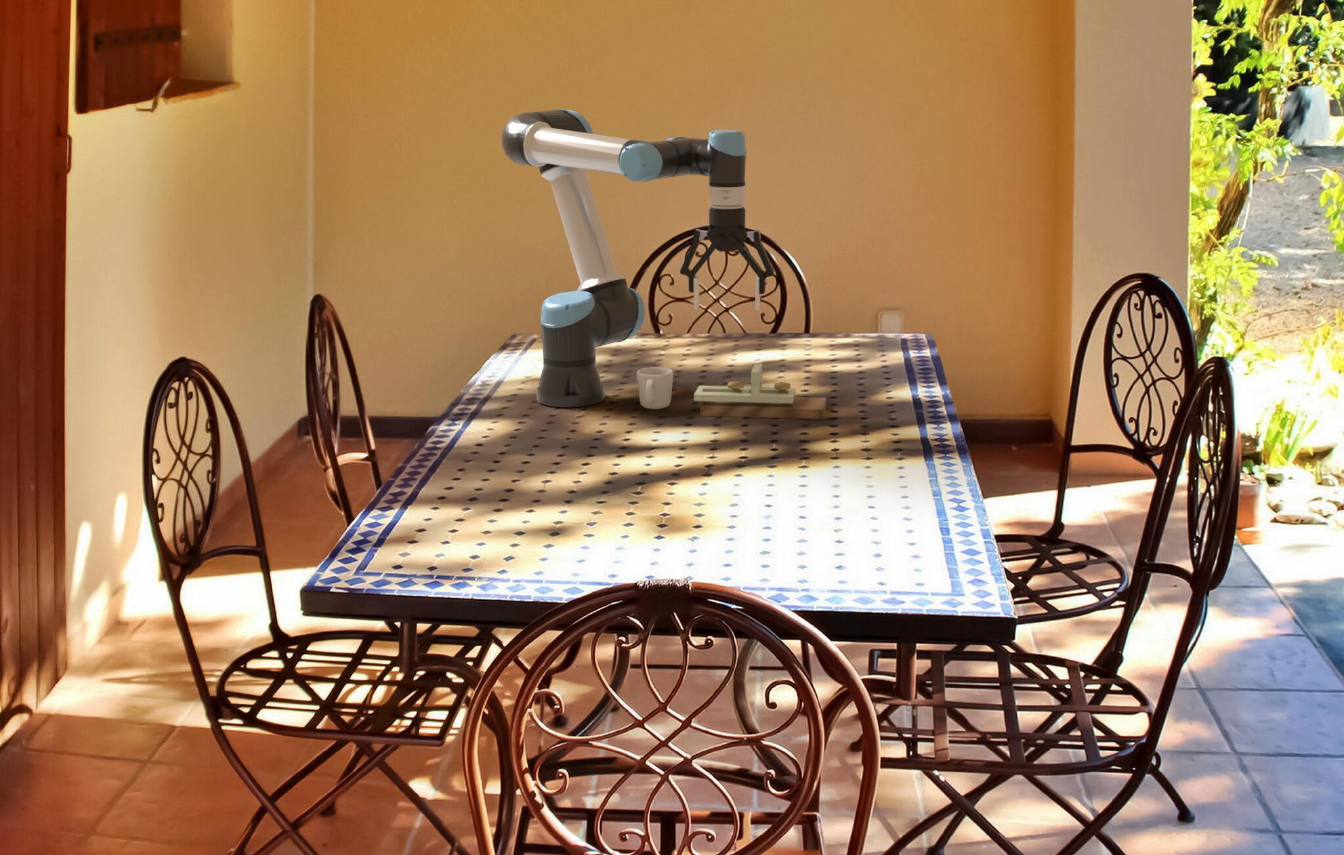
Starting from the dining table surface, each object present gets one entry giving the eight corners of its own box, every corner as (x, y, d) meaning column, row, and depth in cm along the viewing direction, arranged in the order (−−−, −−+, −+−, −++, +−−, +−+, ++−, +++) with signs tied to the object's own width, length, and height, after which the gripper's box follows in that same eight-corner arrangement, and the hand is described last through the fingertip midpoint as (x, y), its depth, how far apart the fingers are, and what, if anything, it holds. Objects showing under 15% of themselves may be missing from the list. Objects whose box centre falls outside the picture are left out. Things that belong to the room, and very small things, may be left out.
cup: (667, 415, 306) (666, 379, 304) (630, 414, 308) (629, 377, 306) (677, 402, 316) (676, 367, 314) (641, 401, 318) (640, 366, 316)
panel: (693, 400, 306) (693, 370, 304) (699, 391, 314) (698, 362, 312) (792, 403, 303) (792, 372, 301) (795, 394, 310) (795, 364, 309)
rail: (700, 415, 306) (700, 388, 304) (706, 403, 315) (706, 376, 314) (823, 418, 302) (823, 391, 300) (825, 406, 311) (826, 379, 309)
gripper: (665, 208, 296) (666, 310, 302) (784, 209, 292) (783, 313, 298) (671, 203, 303) (672, 303, 309) (787, 204, 299) (786, 306, 305)
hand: (726, 308), depth 304 cm, fingers open, 12 cm apart
